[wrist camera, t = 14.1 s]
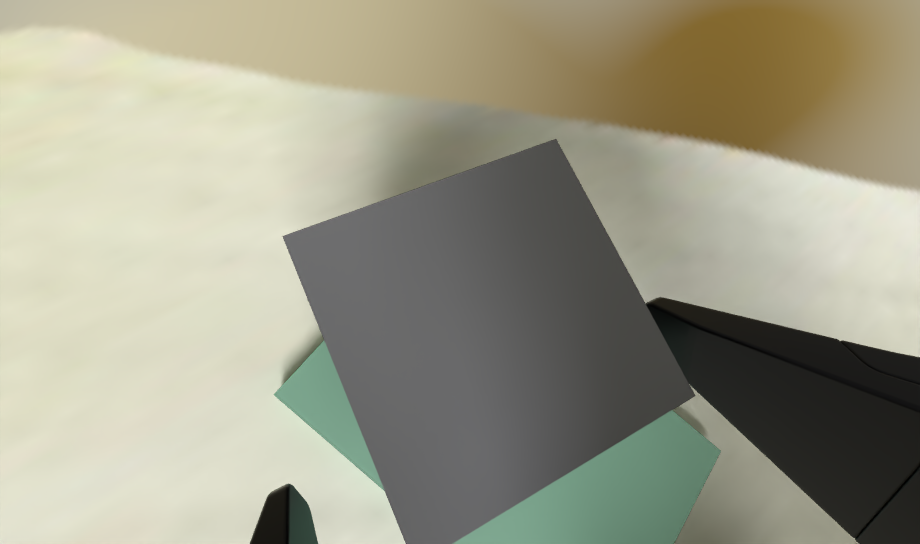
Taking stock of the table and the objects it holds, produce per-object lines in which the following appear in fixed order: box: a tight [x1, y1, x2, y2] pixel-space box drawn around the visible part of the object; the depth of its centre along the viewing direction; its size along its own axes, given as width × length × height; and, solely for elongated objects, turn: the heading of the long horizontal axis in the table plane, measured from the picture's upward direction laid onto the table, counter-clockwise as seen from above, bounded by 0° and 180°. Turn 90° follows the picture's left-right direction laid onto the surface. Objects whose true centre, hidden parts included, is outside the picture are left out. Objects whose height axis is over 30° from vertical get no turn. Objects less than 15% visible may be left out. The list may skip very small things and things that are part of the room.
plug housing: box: [283, 139, 695, 544], centre depth 12 cm, size 5×5×12 cm
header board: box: [274, 341, 721, 544], centre depth 17 cm, size 18×11×4 cm, turn 51°
